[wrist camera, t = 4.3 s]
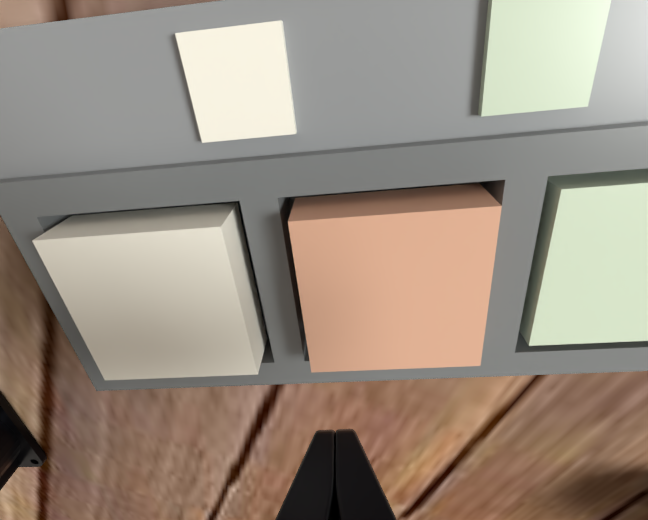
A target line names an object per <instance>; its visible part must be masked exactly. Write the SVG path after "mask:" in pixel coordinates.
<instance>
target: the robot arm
mask: <svg viewBox="0 0 648 520" xmlns="http://www.w3.org/2000/svg"><path fill="white" fill-rule="evenodd" d="M46 459H47V457H46V455H45V453H44V452H43V451H42V449H41V448H40V447H39V445H38V444H37V442H36V441H35V440H34V438H33V437H32V435H31V434H30V433H29V431H28V430H27V428H26V427H25V426H24V424H23V423H22V422H21V420H20V419H19V417H18V416H17V415H16V413H15V412H14V410H13V409H12V408H11V406H10V405H9V403H8V402H7V401H6V399H5V398H4V397H3V395H2V394H1V393H0V490H1V489H2V487H3V486H4V485H5V484H6V482H7V481H8V480H9V478H10V477H11V476H12V475H13V473H14V472H15V471H16V469H17V468H18V467H39V466H42V465H43V463H44V462H45V461H46ZM276 520H396V517H395V515H394V513H393V511H392V509H391V507H390V505H389V503H388V500H387V498H386V496H385V494H384V492H383V490H382V488H381V485H380V483H379V481H378V479H377V477H376V475H375V473H374V471H373V468H372V466H371V464H370V462H369V460H368V458H367V456H366V453H365V451H364V449H363V447H362V445H361V443H360V441H359V439H358V436H357V434H356V432H355V431H354V430H353V429H339V430H337V431H336V433H335V431H334V430H318V431H317V432H316V433H315V435H314V437H313V439H312V441H311V443H310V445H309V448H308V450H307V452H306V454H305V456H304V458H303V461H302V463H301V465H300V467H299V469H298V472H297V474H296V476H295V478H294V480H293V482H292V485H291V487H290V489H289V491H288V493H287V496H286V498H285V500H284V502H283V504H282V506H281V509H280V511H279V513H278V515H277V517H276Z"/></svg>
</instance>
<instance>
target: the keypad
mask: <svg viewBox="0 0 648 520" xmlns="http://www.w3.org/2000/svg"><path fill="white" fill-rule="evenodd" d="M645 168H648V0H221V1H214V2H206V3H198V4H190V5H182V6H174V7H166V8H158V9H151V10H143V11H135V12H127V13H119V14H111V15H103V16H96V17H88V18H80V19H72V20H64V21H56V22H48V23H40V24H33V25H25V26H17V27H9V28H1V29H0V215H1V217H2V219H3V221H4V223H5V224H6V226H7V228H8V230H9V232H10V234H11V235H12V237H13V239H14V241H15V243H16V245H17V246H18V248H19V250H20V252H21V254H22V255H23V257H24V259H25V261H26V263H27V265H28V266H29V268H30V270H31V272H32V274H33V276H34V277H35V279H36V281H37V283H38V285H39V287H40V288H41V290H42V292H43V294H44V296H45V298H46V299H47V301H48V303H49V305H50V307H51V309H52V310H53V312H54V314H55V316H56V318H57V320H58V321H59V323H60V325H61V327H62V329H63V331H64V332H65V334H66V336H67V338H68V340H69V341H70V343H71V345H72V347H73V349H74V351H75V352H76V354H77V356H78V358H79V360H80V362H81V363H82V365H83V367H84V369H85V371H86V373H87V374H88V376H89V378H90V380H91V382H92V384H93V385H94V387H95V389H96V391H105V390H133V389H160V388H188V387H215V386H243V385H270V384H298V383H325V382H353V381H380V380H408V379H435V378H463V377H490V376H518V375H545V374H573V373H600V372H628V371H648V341H631V342H608V343H584V344H561V345H537V346H528V344H527V342H526V341H525V339H524V337H523V336H522V334H521V333H520V331H519V328H520V323H521V317H522V312H523V307H524V301H525V296H526V291H527V286H528V280H529V275H530V270H531V264H532V259H533V254H534V249H535V243H536V238H537V233H538V227H539V222H540V217H541V211H542V206H543V201H544V196H545V190H546V185H547V180H548V176H557V175H570V174H582V173H595V172H607V171H620V170H633V169H645ZM477 183H480V184H481V185H482V186H483V187H484V188H485V189H486V190H487V191H488V192H489V193H490V194H491V195H492V196H493V197H494V198H495V200H496V201H497V202H498V203H499V204H500V205H501V206H502V208H501V216H500V223H499V231H498V238H497V246H496V253H495V261H494V268H493V276H492V283H491V290H490V298H489V305H488V313H487V320H486V328H485V335H484V343H483V350H482V358H481V365H480V366H465V367H439V368H414V369H388V370H362V371H336V372H311V366H310V360H309V354H308V347H307V341H306V335H305V328H304V322H303V315H302V309H301V303H300V296H299V290H298V284H297V277H296V271H295V264H294V258H293V252H292V245H291V239H290V233H289V226H288V220H289V216H290V213H291V210H292V207H293V204H294V201H295V198H300V197H313V196H325V195H338V194H350V193H363V192H376V191H388V190H401V189H414V188H426V187H439V186H451V185H464V184H477ZM224 203H238V208H239V212H240V217H241V221H242V226H243V230H244V235H245V239H246V244H247V249H248V253H249V258H250V262H251V267H252V271H253V276H254V280H255V285H256V289H257V294H258V298H259V303H260V308H261V312H262V317H263V321H264V326H265V330H266V335H267V342H266V345H265V349H264V353H263V357H262V361H261V365H260V368H259V372H258V375H233V376H207V377H182V378H156V379H130V380H104V378H103V376H102V374H101V372H100V370H99V368H98V366H97V364H96V362H95V360H94V359H93V357H92V355H91V353H90V351H89V349H88V347H87V345H86V343H85V341H84V339H83V337H82V336H81V334H80V332H79V330H78V328H77V326H76V324H75V322H74V320H73V318H72V316H71V314H70V313H69V311H68V309H67V307H66V305H65V303H64V301H63V299H62V297H61V295H60V293H59V291H58V290H57V288H56V286H55V284H54V282H53V280H52V278H51V276H50V274H49V272H48V270H47V268H46V267H45V265H44V263H43V261H42V259H41V257H40V255H39V253H38V251H37V249H36V247H35V245H34V244H33V242H32V240H34V239H35V238H37V237H39V236H40V235H42V234H43V233H45V232H47V231H48V230H50V229H51V228H53V227H55V226H56V225H58V224H59V223H61V222H63V221H64V220H66V219H67V218H69V217H71V216H73V215H86V214H98V213H111V212H123V211H136V210H149V209H161V208H174V207H187V206H199V205H212V204H224Z"/></svg>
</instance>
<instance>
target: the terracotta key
mask: <svg viewBox="0 0 648 520" xmlns="http://www.w3.org/2000/svg"><path fill="white" fill-rule="evenodd" d="M501 208H502V206H501V205H500V204H499V203H498V202H497V201H496V200H495V198H494V197H493V196H492V195H491V194H490V193H489V192H488V191H487V190H486V189H485V188H484V187H483V186H482V185H481V184H480V183H477V184H464V185H451V186H439V187H426V188H414V189H401V190H388V191H376V192H363V193H350V194H338V195H325V196H313V197H300V198H295V201H294V204H293V207H292V210H291V213H290V216H289V220H288V226H289V233H290V239H291V245H292V252H293V258H294V264H295V271H296V277H297V284H298V290H299V296H300V303H301V309H302V315H303V322H304V328H305V335H306V341H307V347H308V354H309V360H310V366H311V372H336V371H362V370H388V369H414V368H439V367H465V366H480V365H481V358H482V350H483V343H484V335H485V328H486V320H487V313H488V305H489V298H490V290H491V283H492V276H493V268H494V261H495V253H496V246H497V238H498V231H499V223H500V216H501Z"/></svg>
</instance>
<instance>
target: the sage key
mask: <svg viewBox="0 0 648 520" xmlns="http://www.w3.org/2000/svg"><path fill="white" fill-rule="evenodd" d="M519 331H520V333H521V334H522V336H523V337H524V339H525V341H526V342H527V344H528V346H537V345H561V344H584V343H608V342H631V341H648V168H645V169H633V170H620V171H607V172H595V173H582V174H570V175H557V176H548V180H547V185H546V190H545V196H544V201H543V206H542V211H541V217H540V222H539V227H538V233H537V238H536V243H535V249H534V254H533V259H532V264H531V270H530V275H529V280H528V286H527V291H526V296H525V301H524V307H523V312H522V317H521V323H520V328H519Z"/></svg>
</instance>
